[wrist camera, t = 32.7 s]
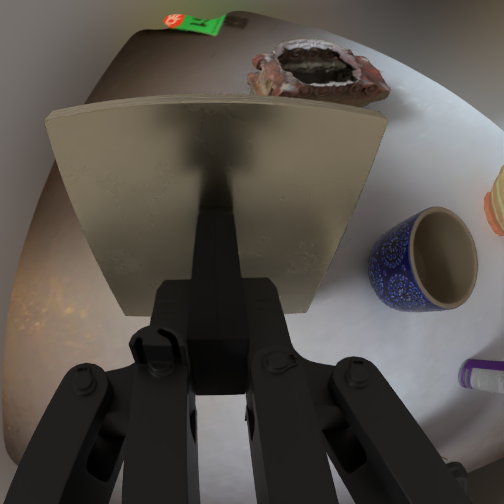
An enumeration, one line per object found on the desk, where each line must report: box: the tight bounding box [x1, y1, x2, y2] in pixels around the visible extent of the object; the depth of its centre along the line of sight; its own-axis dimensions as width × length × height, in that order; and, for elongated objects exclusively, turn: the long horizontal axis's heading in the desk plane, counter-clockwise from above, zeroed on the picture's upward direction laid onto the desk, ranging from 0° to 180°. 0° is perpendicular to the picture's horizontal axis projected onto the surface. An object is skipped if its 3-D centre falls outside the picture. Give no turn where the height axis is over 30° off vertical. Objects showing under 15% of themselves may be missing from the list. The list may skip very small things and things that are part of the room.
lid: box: [45, 94, 388, 317], centre depth 14 cm, size 14×13×1 cm
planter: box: [368, 207, 478, 312], centre depth 31 cm, size 11×11×11 cm
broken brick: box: [247, 39, 391, 107], centre depth 36 cm, size 13×20×10 cm, turn 102°
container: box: [459, 359, 504, 394], centre depth 27 cm, size 5×5×15 cm
